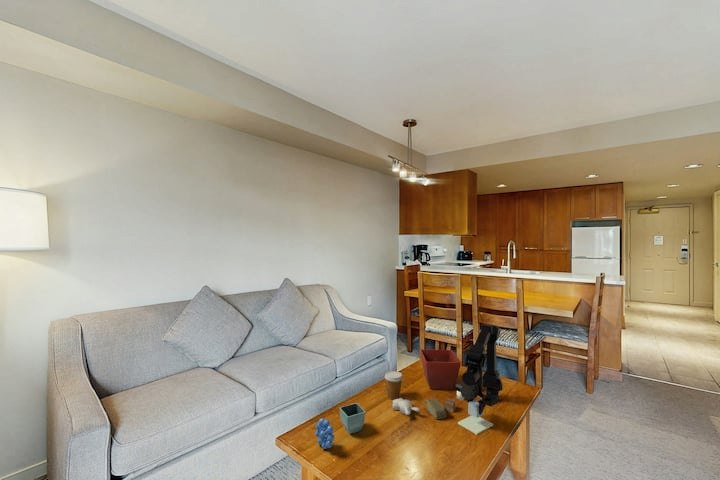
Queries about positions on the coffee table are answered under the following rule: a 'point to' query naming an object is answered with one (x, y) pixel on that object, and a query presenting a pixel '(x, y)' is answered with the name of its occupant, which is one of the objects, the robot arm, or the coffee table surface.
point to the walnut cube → (450, 405)
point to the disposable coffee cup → (393, 384)
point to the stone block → (435, 408)
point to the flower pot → (352, 417)
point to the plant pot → (440, 368)
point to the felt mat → (475, 424)
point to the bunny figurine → (404, 406)
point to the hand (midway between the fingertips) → (475, 412)
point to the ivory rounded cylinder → (460, 396)
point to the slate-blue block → (474, 408)
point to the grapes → (324, 433)
